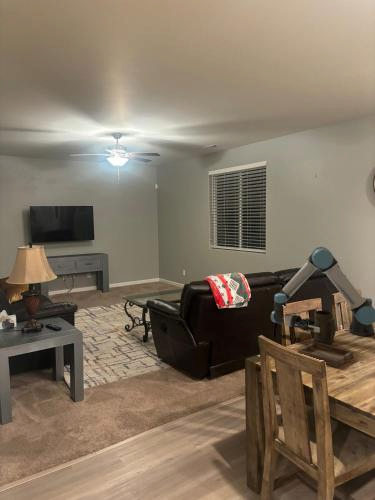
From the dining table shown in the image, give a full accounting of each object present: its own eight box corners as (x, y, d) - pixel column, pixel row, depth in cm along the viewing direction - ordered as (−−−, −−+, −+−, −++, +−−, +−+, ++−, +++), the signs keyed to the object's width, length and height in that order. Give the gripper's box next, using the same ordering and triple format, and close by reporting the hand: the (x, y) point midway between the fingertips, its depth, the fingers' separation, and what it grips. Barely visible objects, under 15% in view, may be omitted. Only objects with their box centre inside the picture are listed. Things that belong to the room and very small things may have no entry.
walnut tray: (314, 347, 215) (314, 341, 215) (353, 357, 199) (353, 351, 198) (297, 356, 203) (297, 350, 203) (337, 367, 186) (337, 361, 186)
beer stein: (309, 342, 223) (310, 311, 220) (321, 339, 228) (323, 308, 225) (329, 352, 210) (331, 319, 207) (342, 348, 215) (344, 316, 211)
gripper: (304, 322, 242) (335, 328, 226) (282, 331, 225) (314, 338, 209) (304, 311, 241) (335, 317, 225) (282, 319, 224) (314, 326, 209)
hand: (325, 327), depth 217 cm, fingers open, 13 cm apart
